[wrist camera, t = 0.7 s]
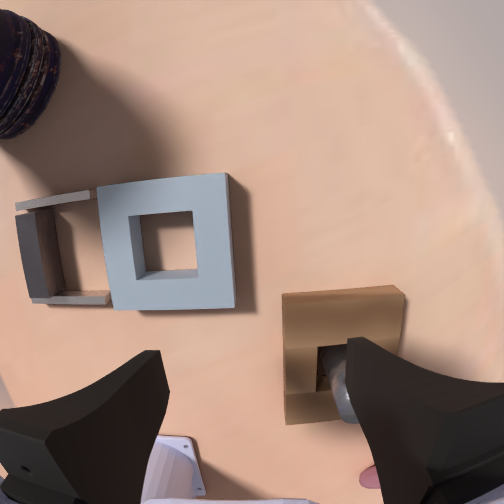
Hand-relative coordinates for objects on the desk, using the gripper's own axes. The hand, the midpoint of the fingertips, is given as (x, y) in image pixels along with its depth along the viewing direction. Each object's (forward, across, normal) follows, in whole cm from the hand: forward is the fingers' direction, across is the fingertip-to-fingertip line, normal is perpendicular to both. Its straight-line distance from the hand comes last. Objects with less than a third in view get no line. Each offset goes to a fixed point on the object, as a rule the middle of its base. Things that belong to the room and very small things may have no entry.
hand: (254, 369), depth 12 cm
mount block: (+10, -6, +6) cm, 13 cm away
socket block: (+10, +5, -3) cm, 12 cm away
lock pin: (+10, -6, +6) cm, 13 cm away
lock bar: (+10, +15, -4) cm, 18 cm away
